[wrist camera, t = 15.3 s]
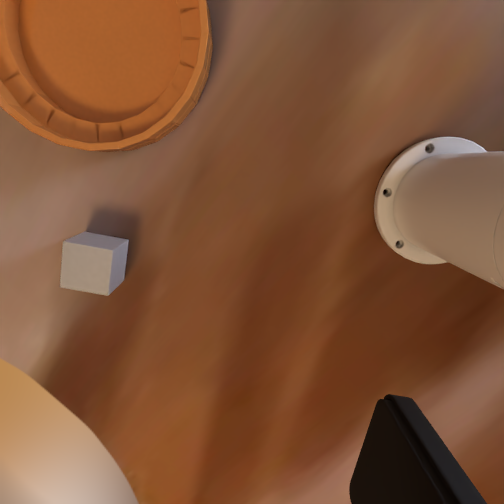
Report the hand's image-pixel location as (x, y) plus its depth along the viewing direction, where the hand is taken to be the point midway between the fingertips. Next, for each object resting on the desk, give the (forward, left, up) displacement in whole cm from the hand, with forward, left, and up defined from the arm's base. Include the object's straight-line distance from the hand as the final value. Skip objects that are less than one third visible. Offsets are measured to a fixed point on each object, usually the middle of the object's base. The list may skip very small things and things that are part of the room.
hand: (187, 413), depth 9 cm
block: (+12, +6, -28) cm, 31 cm away
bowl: (+14, -14, -28) cm, 35 cm away
